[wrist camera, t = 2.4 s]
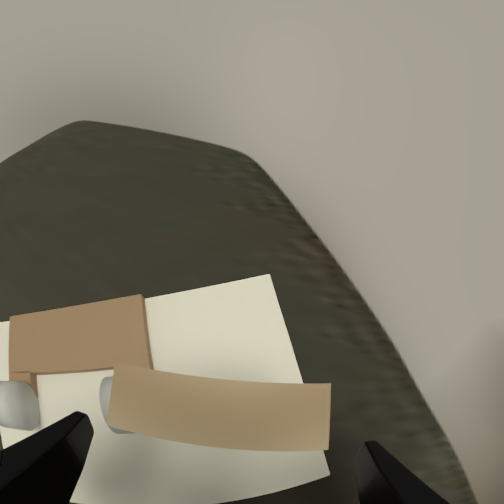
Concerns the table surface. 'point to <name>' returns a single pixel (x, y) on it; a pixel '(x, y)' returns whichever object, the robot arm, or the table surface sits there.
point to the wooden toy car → (220, 410)
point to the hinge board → (162, 359)
